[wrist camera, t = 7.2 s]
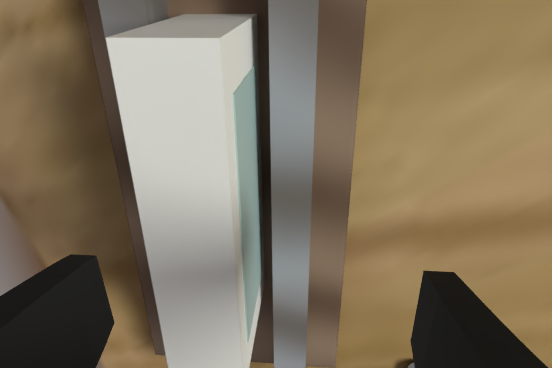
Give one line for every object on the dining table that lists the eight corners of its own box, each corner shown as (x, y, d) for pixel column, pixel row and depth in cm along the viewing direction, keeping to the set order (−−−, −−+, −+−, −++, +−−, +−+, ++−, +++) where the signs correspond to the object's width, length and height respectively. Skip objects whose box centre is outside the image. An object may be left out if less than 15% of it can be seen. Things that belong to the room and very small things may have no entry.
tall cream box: (265, 282, 20) (245, 395, 14) (210, 279, 20) (171, 389, 15) (258, 14, 14) (222, 38, 9) (183, 14, 14) (103, 37, 9)
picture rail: (334, 352, 23) (336, 402, 20) (161, 340, 24) (141, 386, 21) (375, -138, 13) (389, -167, 10) (71, -128, 14) (12, -153, 11)
